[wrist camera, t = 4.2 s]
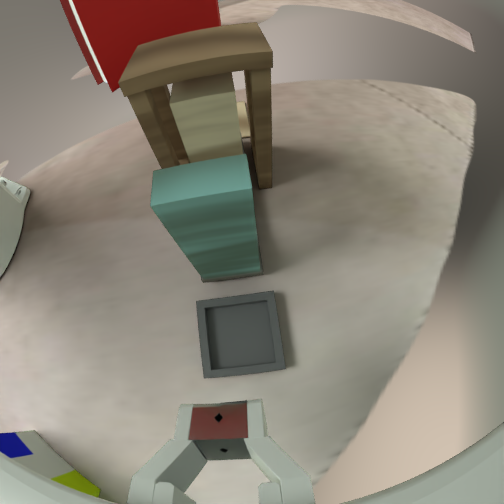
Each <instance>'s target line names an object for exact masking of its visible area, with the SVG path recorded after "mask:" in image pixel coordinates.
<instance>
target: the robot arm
mask: <svg viewBox="0 0 504 504" xmlns="http://www.w3.org/2000/svg"><path fill="white" fill-rule="evenodd" d="M29 195H30V190H29V189H28V188H27V187H25V186H22V185H20V184H18V183H15V182H13V181H11V180H8V179H6V178H4V177H0V277H1V275H2V274H3V272H4V271H5V269H6V268H7V266H8V264H9V262H10V260H11V258H12V256H13V253H14V251H15V248H16V246H17V243H18V240H19V237H20V233H21V229H22V224H23V217H24V210H25V206H26V204H27V201H28V198H29ZM233 459H252V460H253V462H254V463H255V464H256V465H257V466H258V468H259V469H260V470H261V471H262V472H263V474H264V475H265V476H266V477H267V478H268V479H269V481H270V483H262V484H261V485H260V486H259V487H258V488H259V504H315V499H314V494H313V488H312V483H311V478H310V475H309V474H307V473H306V472H305V471H304V470H303V469H302V468H301V467H300V466H299V465H298V464H297V463H296V462H295V461H294V460H293V459H291V458H290V457H289V456H288V455H287V454H286V453H285V452H284V451H283V450H282V449H281V448H280V447H279V446H278V445H277V444H276V443H275V442H274V441H273V440H272V438H271V437H270V436H268V432H267V424H266V418H265V412H264V407H263V402H262V399H258V400H250V401H247V400H246V401H237V402H226V403H218V404H181V406H180V407H179V412H178V417H177V423H176V429H175V435H174V440H169V441H168V442H167V443H166V444H165V445H164V446H163V447H162V448H161V449H160V450H159V451H158V452H157V453H156V454H155V455H154V456H153V457H152V458H151V459H150V460H149V461H148V462H147V463H146V464H145V465H144V466H143V467H142V468H141V469H140V470H139V471H138V472H136V473H135V474H134V475H133V476H132V480H131V485H130V490H129V495H128V500H127V504H196V502H195V501H194V500H192V499H191V498H190V497H188V496H187V495H186V494H184V492H185V491H186V490H187V488H188V487H189V486H190V484H191V483H192V482H193V480H194V479H195V478H196V476H197V475H198V474H199V472H200V471H201V470H202V468H203V467H204V466H205V464H206V463H207V460H233ZM0 504H118V503H114V502H111V501H107V500H104V499H101V498H97V497H94V496H91V495H88V494H86V493H83V492H80V491H77V490H75V489H72V488H70V487H67V486H65V485H62V484H60V483H58V482H55V481H53V480H51V479H49V478H47V477H44V476H42V475H40V474H38V473H36V472H34V471H32V470H31V469H29V468H27V467H25V466H23V465H21V464H20V463H18V462H16V461H14V460H13V459H11V458H9V457H8V456H6V455H5V454H3V453H1V452H0ZM341 504H504V422H503V423H502V424H501V425H499V426H498V427H497V428H496V429H494V430H493V431H492V432H490V433H489V434H488V435H486V436H485V437H484V438H482V439H481V440H479V441H478V442H476V443H475V444H473V445H472V446H470V447H469V448H467V449H466V450H464V451H462V452H461V453H459V454H458V455H456V456H454V457H453V458H451V459H449V460H447V461H446V462H444V463H442V464H440V465H438V466H437V467H435V468H433V469H431V470H429V471H427V472H425V473H423V474H421V475H419V476H417V477H414V478H412V479H410V480H407V481H405V482H403V483H401V484H398V485H396V486H393V487H391V488H388V489H385V490H383V491H380V492H377V493H374V494H371V495H368V496H365V497H362V498H359V499H355V500H352V501H348V502H345V503H341Z"/></svg>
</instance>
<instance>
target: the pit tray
mask: <svg viewBox="0 0 504 504" xmlns="http://www.w3.org/2000/svg"><path fill="white" fill-rule="evenodd" d="M196 305H197V317H198V328H199V338H200V348H201V357H202V366H203V374H204V378H215V377H226V376H237V375H246V374H254V373H262V372H269V371H276V370H282V369H286V367H285V361H284V354H283V347H282V341H281V334H280V328H279V321H278V315H277V309H276V302H275V296H274V291H268V292H261V293H254V294H247V295H240V296H232V297H225V298H217V299H209V300H201V301H196Z"/></svg>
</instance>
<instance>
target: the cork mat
mask: <svg viewBox="0 0 504 504" xmlns="http://www.w3.org/2000/svg"><path fill="white" fill-rule="evenodd" d="M236 104H237V111H238V119H239V127H240V132H241V136H242V138H246V137H250V127H249V122H248V117H247V112H246V107H245V102H244V101H242V102H236Z"/></svg>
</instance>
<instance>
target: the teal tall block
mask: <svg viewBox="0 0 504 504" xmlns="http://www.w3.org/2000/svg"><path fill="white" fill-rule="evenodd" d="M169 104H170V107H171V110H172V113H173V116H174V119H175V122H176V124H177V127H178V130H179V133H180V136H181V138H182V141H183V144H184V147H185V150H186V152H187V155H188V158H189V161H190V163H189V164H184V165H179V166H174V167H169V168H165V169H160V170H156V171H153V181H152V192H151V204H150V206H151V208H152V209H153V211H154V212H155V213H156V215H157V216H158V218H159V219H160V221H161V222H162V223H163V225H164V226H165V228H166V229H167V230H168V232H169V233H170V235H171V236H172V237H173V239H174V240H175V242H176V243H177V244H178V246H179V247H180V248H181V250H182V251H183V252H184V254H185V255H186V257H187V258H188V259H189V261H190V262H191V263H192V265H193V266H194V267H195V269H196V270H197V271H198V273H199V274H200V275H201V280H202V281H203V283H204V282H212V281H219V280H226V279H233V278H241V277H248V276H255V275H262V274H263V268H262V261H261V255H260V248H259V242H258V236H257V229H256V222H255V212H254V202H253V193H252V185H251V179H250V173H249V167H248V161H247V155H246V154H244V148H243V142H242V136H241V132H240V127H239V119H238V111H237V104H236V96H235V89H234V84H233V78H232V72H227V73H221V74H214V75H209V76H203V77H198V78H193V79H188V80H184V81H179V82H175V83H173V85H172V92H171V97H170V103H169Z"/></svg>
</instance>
